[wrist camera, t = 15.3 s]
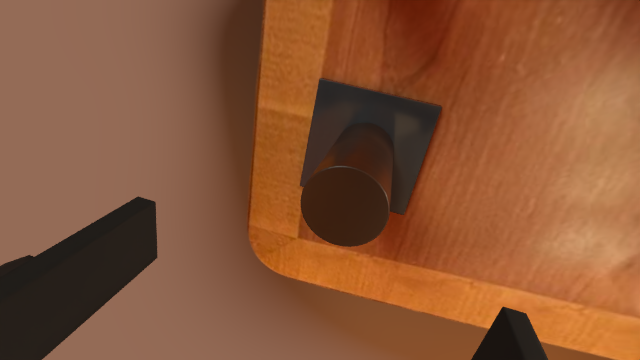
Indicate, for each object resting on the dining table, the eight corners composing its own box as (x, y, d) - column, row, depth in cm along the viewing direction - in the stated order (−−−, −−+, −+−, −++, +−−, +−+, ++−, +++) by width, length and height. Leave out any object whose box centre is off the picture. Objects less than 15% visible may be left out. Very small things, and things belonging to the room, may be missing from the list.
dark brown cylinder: (330, 169, 29) (293, 232, 19) (342, 115, 27) (308, 155, 17) (384, 184, 28) (375, 257, 18) (401, 130, 26) (401, 180, 16)
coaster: (301, 183, 31) (299, 186, 30) (320, 77, 27) (319, 78, 26) (403, 212, 30) (403, 215, 29) (441, 105, 25) (442, 106, 25)
